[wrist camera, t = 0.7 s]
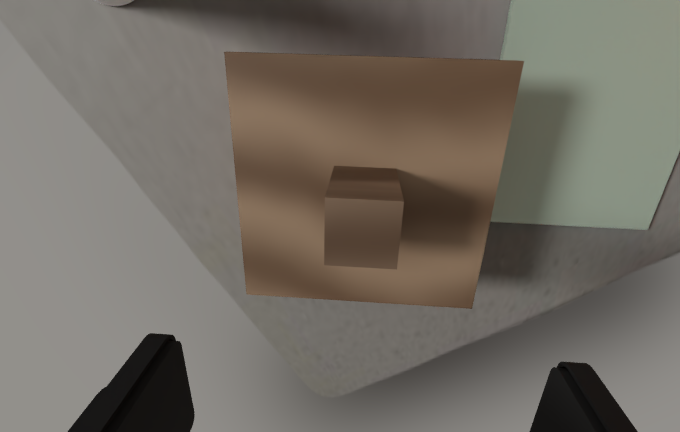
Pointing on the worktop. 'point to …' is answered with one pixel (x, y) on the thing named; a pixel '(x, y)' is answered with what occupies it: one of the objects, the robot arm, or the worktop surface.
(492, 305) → the worktop surface
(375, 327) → the worktop surface
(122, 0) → the cosmetic bottle
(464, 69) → the lid
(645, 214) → the mat
